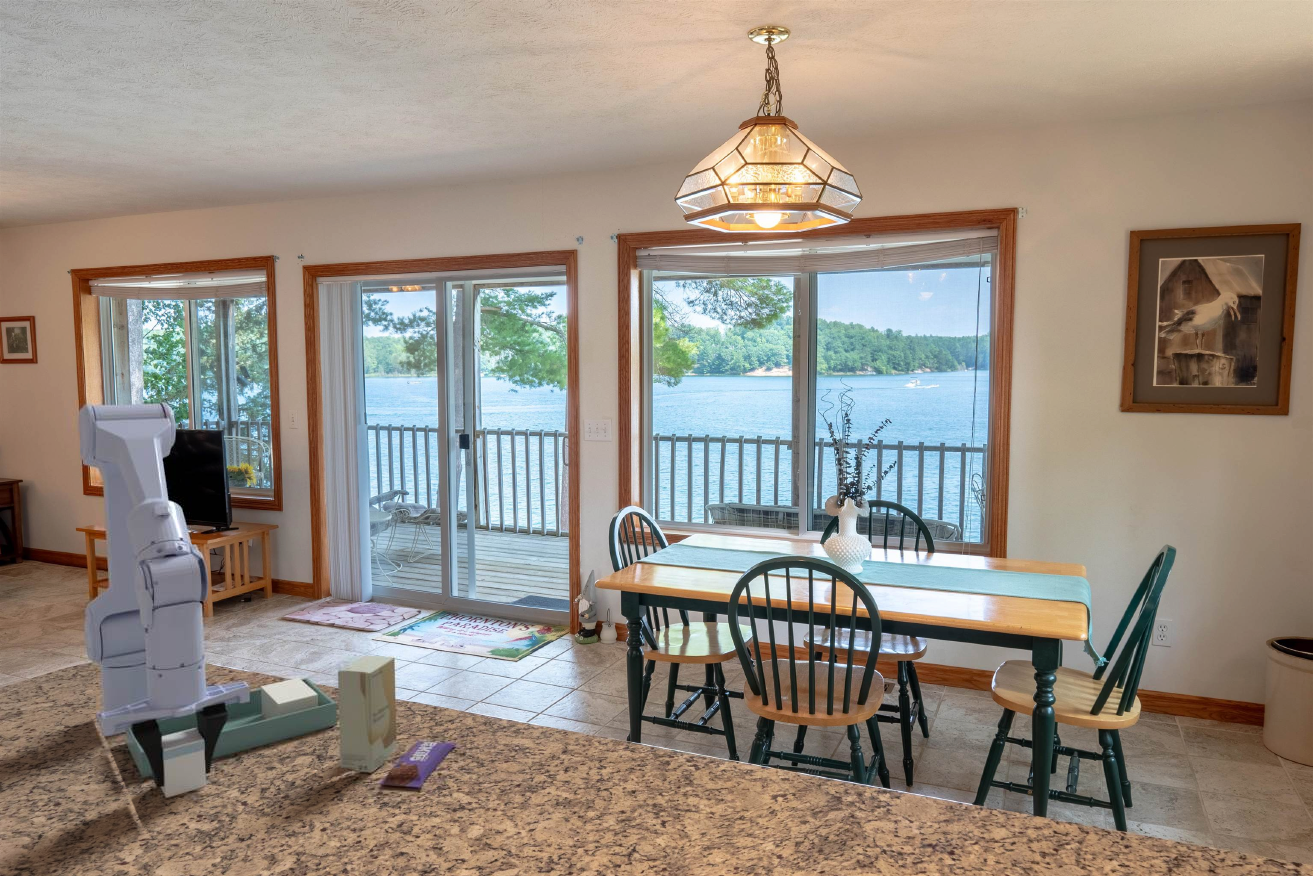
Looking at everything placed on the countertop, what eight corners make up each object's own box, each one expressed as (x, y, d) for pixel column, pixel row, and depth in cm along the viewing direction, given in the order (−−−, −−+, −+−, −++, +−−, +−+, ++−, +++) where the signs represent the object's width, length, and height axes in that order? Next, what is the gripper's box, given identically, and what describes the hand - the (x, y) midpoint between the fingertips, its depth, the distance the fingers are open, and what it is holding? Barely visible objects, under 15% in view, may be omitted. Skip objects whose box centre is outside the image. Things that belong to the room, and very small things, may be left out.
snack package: (420, 733, 108) (457, 735, 107) (420, 748, 108) (458, 750, 107) (378, 776, 96) (420, 779, 96) (378, 792, 97) (420, 795, 96)
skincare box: (372, 774, 100) (368, 673, 99) (338, 771, 101) (335, 671, 100) (399, 750, 106) (396, 655, 105) (367, 747, 107) (364, 653, 106)
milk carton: (158, 788, 97) (156, 737, 96) (198, 777, 99) (196, 727, 99) (166, 802, 94) (163, 749, 93) (207, 790, 96) (204, 739, 96)
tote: (126, 746, 107) (124, 720, 107) (307, 701, 122) (307, 677, 121) (142, 781, 98) (141, 752, 98) (337, 728, 113) (336, 702, 112)
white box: (262, 714, 116) (260, 686, 116) (299, 705, 119) (298, 677, 119) (279, 733, 110) (278, 704, 109) (318, 723, 113) (317, 694, 113)
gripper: (104, 686, 88) (112, 812, 89) (254, 655, 97) (259, 770, 98) (95, 668, 93) (103, 787, 94) (238, 640, 102) (243, 749, 103)
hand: (182, 777), depth 96 cm, fingers closed on milk carton, 4 cm apart
